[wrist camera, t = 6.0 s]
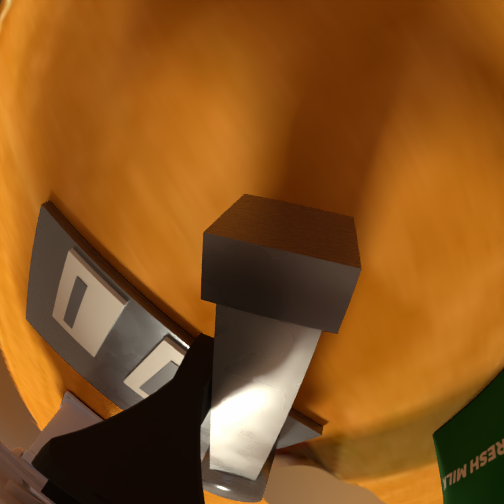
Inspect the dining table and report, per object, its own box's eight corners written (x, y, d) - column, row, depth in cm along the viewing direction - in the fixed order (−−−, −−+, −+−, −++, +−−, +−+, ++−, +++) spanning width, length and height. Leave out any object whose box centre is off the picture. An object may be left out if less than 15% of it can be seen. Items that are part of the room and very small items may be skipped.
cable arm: (271, 455, 16) (256, 505, 13) (215, 440, 17) (194, 487, 14) (367, 210, 8) (388, 283, 5) (238, 182, 9) (172, 233, 5)
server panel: (210, 458, 21) (207, 464, 21) (30, 315, 19) (26, 318, 19) (323, 427, 15) (321, 435, 14) (49, 200, 13) (41, 204, 12)
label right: (172, 414, 17) (170, 418, 17) (125, 378, 17) (122, 382, 17) (229, 384, 14) (227, 389, 14) (166, 336, 13) (163, 340, 13)
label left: (96, 354, 17) (93, 357, 16) (54, 313, 16) (51, 316, 16) (127, 302, 13) (123, 306, 13) (72, 248, 13) (67, 251, 12)
